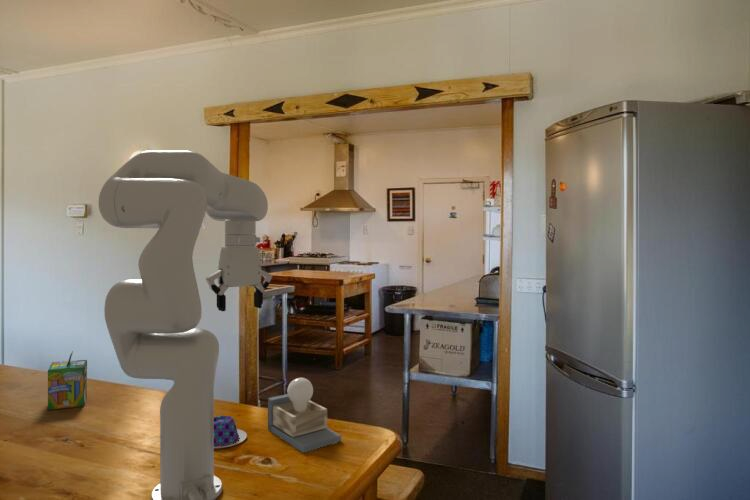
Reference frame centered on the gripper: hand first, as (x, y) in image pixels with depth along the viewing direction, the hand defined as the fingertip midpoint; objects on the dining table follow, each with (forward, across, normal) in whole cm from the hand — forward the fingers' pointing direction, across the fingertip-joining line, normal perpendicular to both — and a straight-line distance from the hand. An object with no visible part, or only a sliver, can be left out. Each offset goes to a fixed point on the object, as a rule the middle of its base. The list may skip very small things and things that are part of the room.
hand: (240, 309), depth 130 cm
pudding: (+31, +7, +5) cm, 32 cm away
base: (+30, -10, +15) cm, 35 cm away
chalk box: (+31, +32, -46) cm, 64 cm away
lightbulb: (+28, -10, +13) cm, 32 cm away
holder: (+28, -10, +13) cm, 33 cm away
